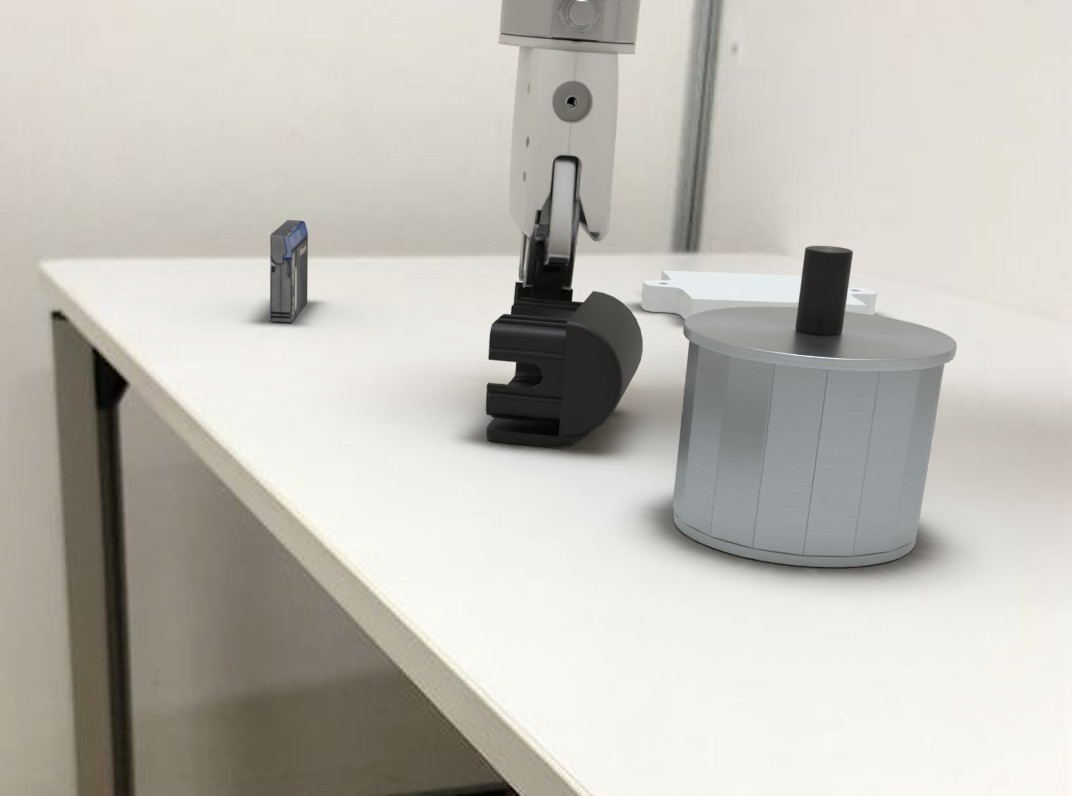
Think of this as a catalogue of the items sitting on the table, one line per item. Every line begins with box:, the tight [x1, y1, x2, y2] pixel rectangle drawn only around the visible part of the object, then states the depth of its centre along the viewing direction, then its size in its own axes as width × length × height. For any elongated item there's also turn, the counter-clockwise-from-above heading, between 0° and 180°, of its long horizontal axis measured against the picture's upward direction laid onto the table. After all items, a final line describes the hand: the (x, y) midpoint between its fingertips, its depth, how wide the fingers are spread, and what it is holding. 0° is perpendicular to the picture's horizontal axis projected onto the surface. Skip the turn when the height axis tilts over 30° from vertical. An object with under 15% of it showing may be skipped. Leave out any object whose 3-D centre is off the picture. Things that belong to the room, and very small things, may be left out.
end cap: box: [485, 290, 644, 449], centre depth 88 cm, size 10×7×7 cm
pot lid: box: [682, 245, 958, 372], centre depth 70 cm, size 12×12×5 cm
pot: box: [672, 340, 945, 568], centre depth 72 cm, size 11×11×8 cm
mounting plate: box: [640, 270, 878, 321], centre depth 125 cm, size 18×13×2 cm
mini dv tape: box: [269, 219, 309, 324], centre depth 116 cm, size 8×2×6 cm, turn 176°
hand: (537, 353), depth 95 cm, fingers closed
